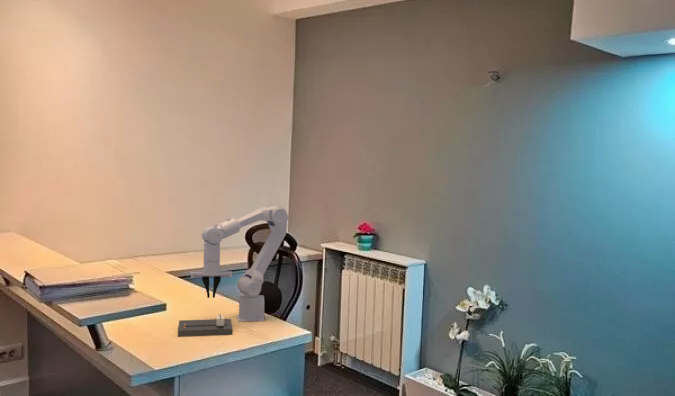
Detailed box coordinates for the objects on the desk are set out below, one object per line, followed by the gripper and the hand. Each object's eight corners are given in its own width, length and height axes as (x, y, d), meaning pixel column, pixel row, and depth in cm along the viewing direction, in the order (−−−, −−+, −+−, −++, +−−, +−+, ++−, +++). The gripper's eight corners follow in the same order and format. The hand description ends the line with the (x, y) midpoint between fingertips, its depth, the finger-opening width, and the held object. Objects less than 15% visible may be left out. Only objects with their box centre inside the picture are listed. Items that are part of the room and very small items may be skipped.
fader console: (230, 324, 213) (230, 318, 213) (232, 334, 202) (232, 328, 201) (179, 326, 209) (179, 320, 209) (177, 336, 197) (177, 330, 197)
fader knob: (223, 321, 208) (223, 314, 208) (224, 325, 203) (224, 318, 203) (216, 321, 207) (216, 314, 207) (216, 326, 203) (216, 318, 202)
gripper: (231, 257, 218) (230, 294, 219) (191, 258, 215) (190, 294, 216) (232, 261, 211) (231, 298, 213) (190, 261, 208) (190, 299, 209)
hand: (211, 297), depth 214 cm, fingers closed
